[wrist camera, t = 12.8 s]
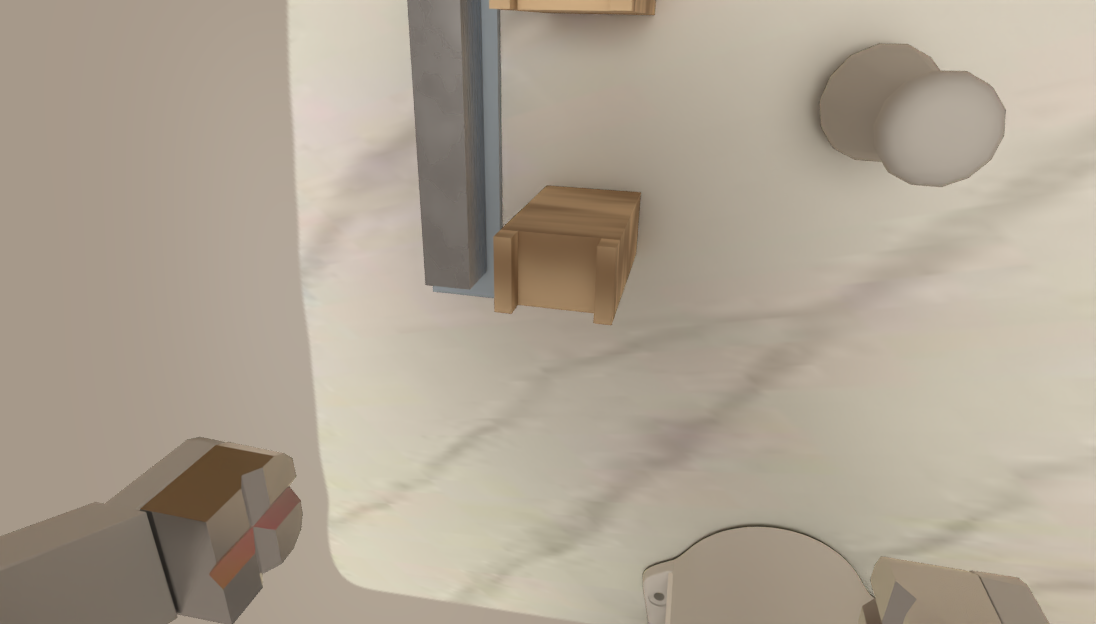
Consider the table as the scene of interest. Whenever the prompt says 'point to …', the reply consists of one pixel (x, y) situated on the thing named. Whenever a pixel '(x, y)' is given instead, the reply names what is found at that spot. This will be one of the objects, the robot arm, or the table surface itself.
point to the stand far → (568, 251)
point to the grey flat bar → (489, 147)
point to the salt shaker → (911, 115)
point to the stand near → (578, 6)
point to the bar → (450, 138)
